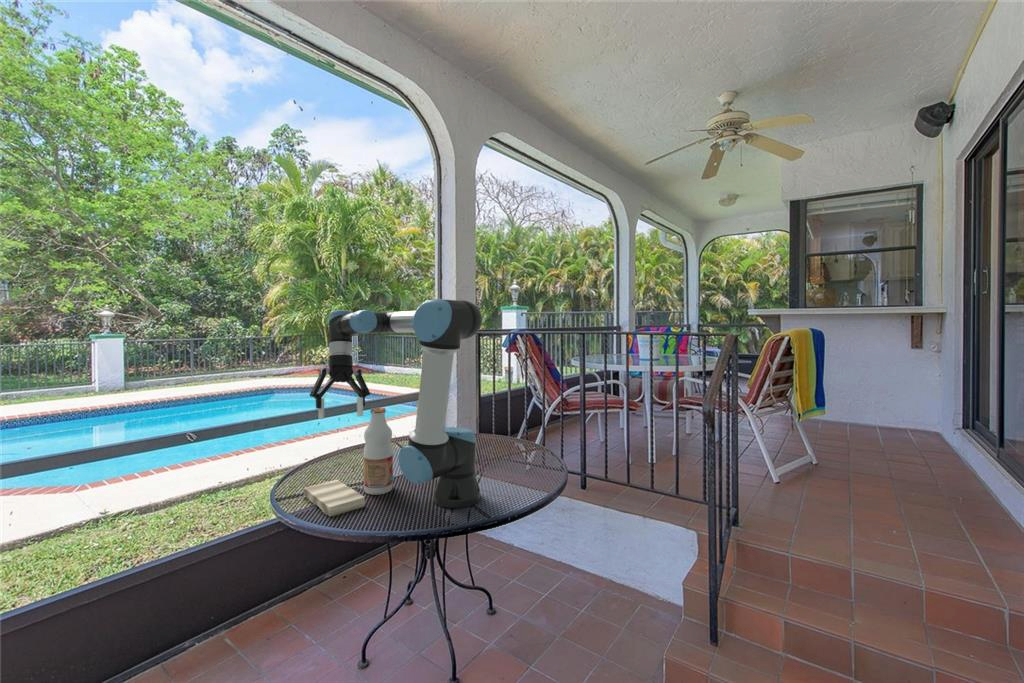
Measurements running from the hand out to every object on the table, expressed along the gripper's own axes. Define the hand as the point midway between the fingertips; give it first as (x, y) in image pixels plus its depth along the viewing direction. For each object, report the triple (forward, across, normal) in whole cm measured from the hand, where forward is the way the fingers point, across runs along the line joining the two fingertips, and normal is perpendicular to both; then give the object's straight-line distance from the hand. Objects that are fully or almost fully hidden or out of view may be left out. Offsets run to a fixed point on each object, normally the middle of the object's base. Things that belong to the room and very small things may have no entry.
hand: (341, 417), depth 151 cm
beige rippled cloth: (+26, +4, +3) cm, 27 cm away
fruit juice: (+25, -11, +4) cm, 28 cm away
